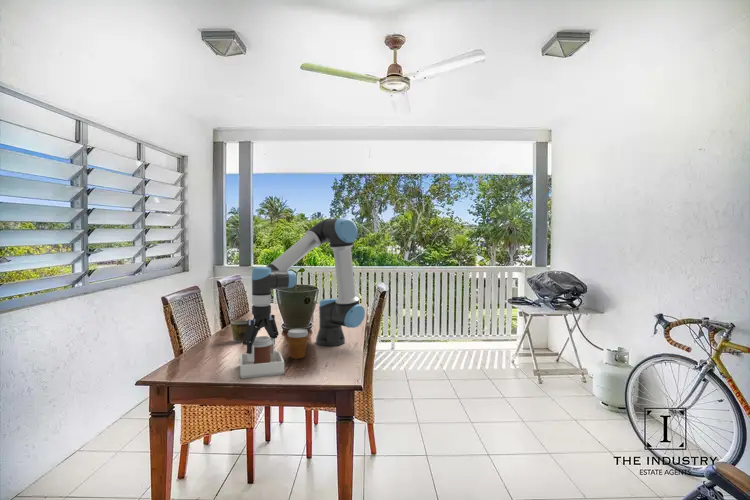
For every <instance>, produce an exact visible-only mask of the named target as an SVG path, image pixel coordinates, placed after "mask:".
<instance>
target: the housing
mask: <svg viewBox="0 0 750 500" xmlns="http://www.w3.org/2000/svg"><path fill="white" fill-rule="evenodd" d="M239 373H240V379H250V378H251V379H253V378H260V377H269V376H270V377H271V376H278V375H285V360H284V357H283V356H282V352H281V350H274V354H271V358H270V363H259V364H254V363H253V362H250V361H248V354H247V353H246V352H245V353H240V354H239Z"/></svg>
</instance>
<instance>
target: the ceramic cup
mask: <svg viewBox="0 0 750 500" xmlns="http://www.w3.org/2000/svg"><path fill="white" fill-rule="evenodd" d="M247 321H248V319H247V320H246V319H244V320H242V319H241V320H234V321H231V322H230V329H231V333H232V337H233V341H234V342H235V343H243V340H244V336H245V332H246V328H247Z"/></svg>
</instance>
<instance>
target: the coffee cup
mask: <svg viewBox="0 0 750 500" xmlns="http://www.w3.org/2000/svg"><path fill="white" fill-rule="evenodd" d="M270 338H271V337H270V336H268V335H267V336H266V335H265V336H264V335H262V336H256V338H255V340H254V343H253V345H254V362H253V363H254V364H259V363H270V358H271V345H272V344H273V341H272V340H270Z"/></svg>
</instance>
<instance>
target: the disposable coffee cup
mask: <svg viewBox="0 0 750 500" xmlns="http://www.w3.org/2000/svg"><path fill="white" fill-rule="evenodd" d="M308 331H309V330H308V329H307V328H306V329H305V328H292V329H289V330H288V331H287V335H286V336H287V337H288V343H289V344H288V345H289V353H290V358H291V359H294V360H295V359H296V360H297V359H303V358H305V356H306V348H307V340H308V335H309V332H308Z"/></svg>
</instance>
